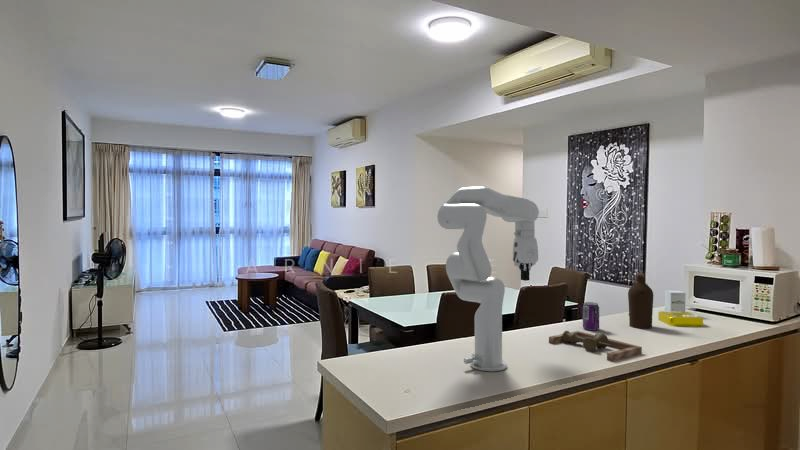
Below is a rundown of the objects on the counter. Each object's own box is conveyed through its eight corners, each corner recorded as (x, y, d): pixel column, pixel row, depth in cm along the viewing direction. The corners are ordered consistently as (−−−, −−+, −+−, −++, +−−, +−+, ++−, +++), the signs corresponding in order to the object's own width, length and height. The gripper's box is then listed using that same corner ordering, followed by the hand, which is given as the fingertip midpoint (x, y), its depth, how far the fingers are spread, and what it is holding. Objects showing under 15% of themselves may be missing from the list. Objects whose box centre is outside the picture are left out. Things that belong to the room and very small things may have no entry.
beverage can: (600, 331, 207) (600, 305, 207) (584, 330, 208) (584, 304, 208) (597, 327, 214) (597, 302, 214) (581, 327, 215) (581, 301, 215)
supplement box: (670, 316, 236) (670, 292, 236) (664, 313, 243) (664, 290, 243) (685, 317, 235) (685, 292, 234) (679, 313, 242) (679, 290, 242)
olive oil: (658, 328, 211) (658, 274, 211) (638, 329, 209) (638, 275, 209) (643, 323, 221) (642, 272, 221) (623, 324, 220) (623, 272, 219)
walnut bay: (611, 361, 164) (611, 354, 164) (548, 342, 189) (548, 336, 189) (641, 353, 173) (641, 346, 173) (577, 336, 198) (577, 330, 198)
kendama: (571, 341, 194) (617, 350, 177) (558, 345, 188) (604, 356, 172) (571, 327, 193) (617, 335, 177) (557, 331, 188) (603, 340, 172)
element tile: (688, 320, 229) (688, 310, 229) (704, 327, 214) (704, 317, 214) (656, 319, 230) (656, 310, 230) (671, 326, 216) (671, 316, 215)
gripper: (517, 235, 176) (518, 282, 176) (545, 234, 183) (545, 279, 183) (504, 234, 182) (504, 280, 182) (531, 233, 190) (531, 277, 190)
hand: (525, 280), depth 183 cm, fingers closed
